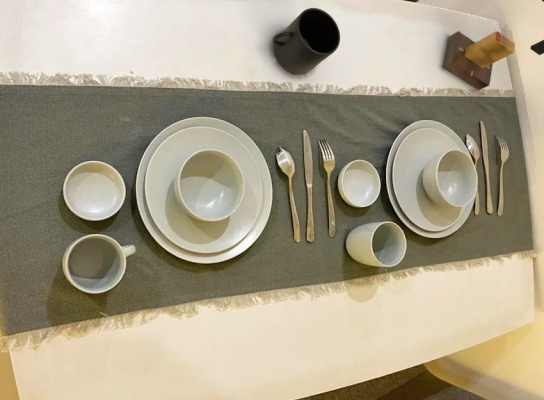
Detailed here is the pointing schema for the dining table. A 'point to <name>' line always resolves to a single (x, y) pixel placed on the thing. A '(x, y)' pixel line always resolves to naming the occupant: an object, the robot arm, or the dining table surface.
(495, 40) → the lock knob
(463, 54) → the plate
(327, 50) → the mug
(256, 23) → the dining table surface
